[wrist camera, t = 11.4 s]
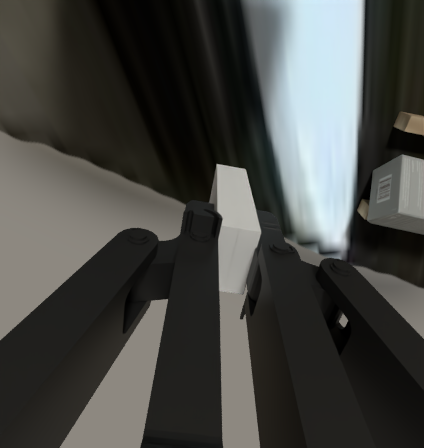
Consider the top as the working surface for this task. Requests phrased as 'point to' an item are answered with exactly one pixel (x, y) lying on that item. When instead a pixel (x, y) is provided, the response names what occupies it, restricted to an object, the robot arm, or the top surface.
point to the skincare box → (398, 195)
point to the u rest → (406, 124)
